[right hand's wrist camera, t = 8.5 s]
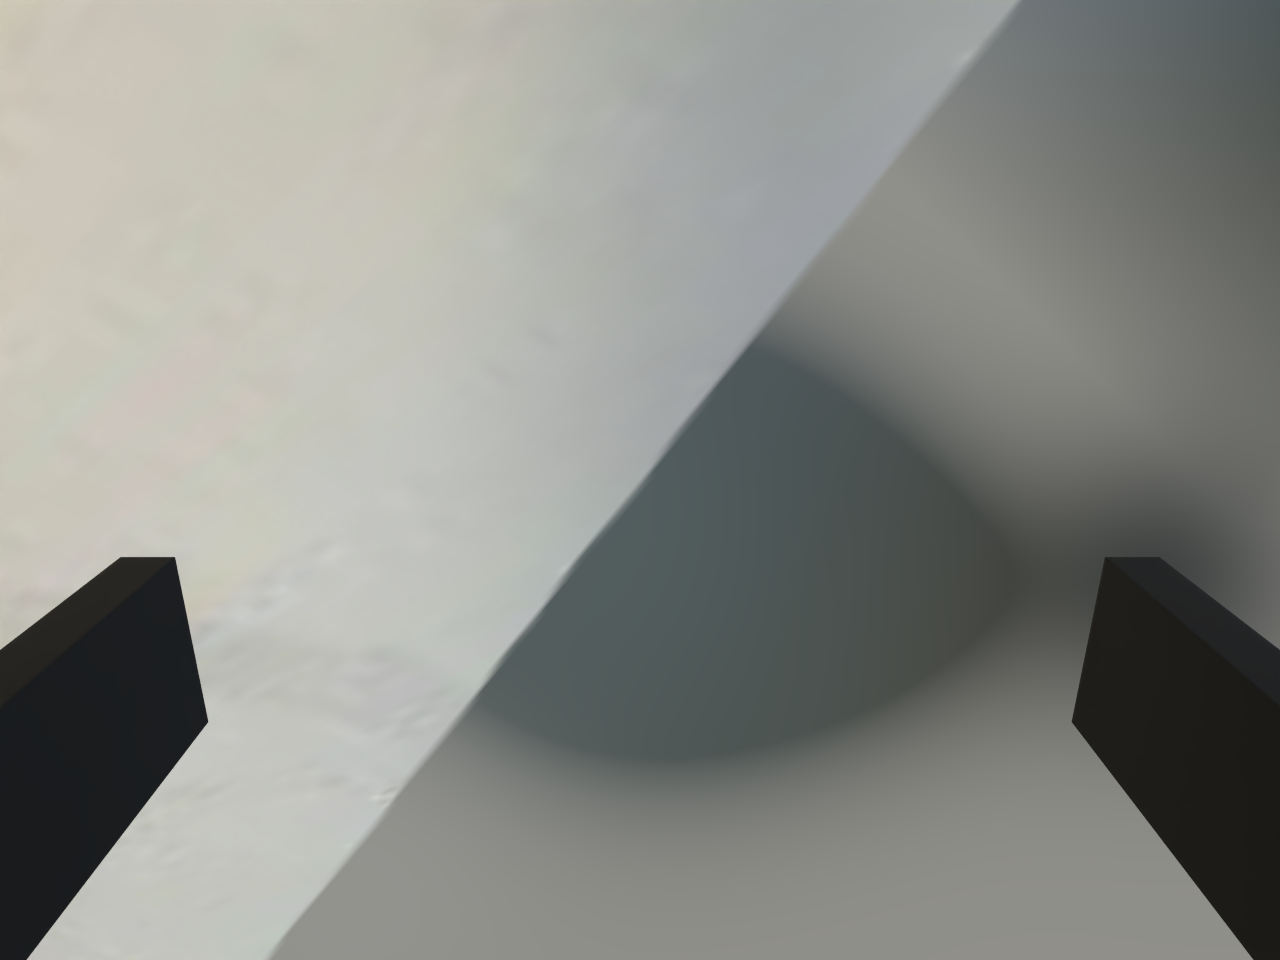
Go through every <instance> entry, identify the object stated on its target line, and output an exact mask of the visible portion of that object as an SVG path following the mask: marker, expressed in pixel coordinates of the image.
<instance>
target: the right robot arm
mask: <svg viewBox="0 0 1280 960" xmlns="http://www.w3.org/2000/svg"><path fill="white" fill-rule="evenodd" d="M207 723H208V718H207V713H206V708H205V703H204V698H203V693H202V689H201V684H200V679H199V674H198V669H197V664H196V659H195V654H194V649H193V644H192V639H191V634H190V629H189V624H188V619H187V614H186V609H185V605H184V600H183V595H182V590H181V585H180V580H179V575H178V570H177V565H176V560H175V557H120V558H119V559H118V560H116V561H115V562H114V563H113V564H111V565H110V566H109V567H107V568H106V569H105V570H103V571H102V572H101V573H100V574H98V575H97V576H96V577H94V578H93V579H92V580H90V581H89V582H88V583H87V584H85V585H84V586H83V587H81V588H80V589H79V590H77V591H76V592H75V593H74V594H72V595H71V596H70V597H68V598H67V599H66V600H65V601H63V602H62V603H61V604H59V605H58V606H57V607H55V608H54V609H53V610H52V611H50V612H49V613H48V614H46V615H45V616H44V617H42V618H41V619H40V620H39V621H37V622H36V623H35V624H33V625H32V626H31V627H29V628H28V629H27V630H26V631H24V632H23V633H22V634H20V635H19V636H18V637H17V638H15V639H14V640H13V641H11V642H10V643H9V644H7V645H6V646H5V647H4V648H2V649H1V650H0V960H27V958H28V957H29V956H30V954H31V953H32V952H33V951H34V949H35V948H36V947H37V945H38V944H39V943H40V941H41V940H42V939H43V937H44V936H45V935H46V934H47V932H48V931H49V930H50V928H51V927H52V926H53V924H54V923H55V922H56V920H57V919H58V918H59V917H60V915H61V914H62V913H63V911H64V910H65V909H66V907H67V906H68V905H69V903H70V902H71V901H72V900H73V898H74V897H75V896H76V894H77V893H78V892H79V890H80V889H81V888H82V886H83V885H84V884H85V882H86V881H87V880H88V879H89V877H90V876H91V875H92V873H93V872H94V871H95V869H96V868H97V867H98V865H99V864H100V863H101V862H102V860H103V859H104V858H105V856H106V855H107V854H108V852H109V851H110V850H111V848H112V847H113V846H114V845H115V843H116V842H117V841H118V839H119V838H120V837H121V835H122V834H123V833H124V831H125V830H126V829H127V828H128V826H129V825H130V824H131V822H132V821H133V820H134V818H135V817H136V816H137V814H138V813H139V812H140V811H141V809H142V808H143V807H144V805H145V804H146V803H147V801H148V800H149V799H150V797H151V796H152V795H153V794H154V792H155V791H156V790H157V788H158V787H159V786H160V784H161V783H162V782H163V780H164V779H165V778H166V777H167V775H168V774H169V773H170V771H171V770H172V769H173V767H174V766H175V765H176V763H177V762H178V761H179V759H180V758H181V757H182V756H183V754H184V753H185V752H186V750H187V749H188V748H189V746H190V745H191V744H192V742H193V741H194V740H195V739H196V737H197V736H198V735H199V733H200V732H201V731H202V729H203V728H204V727H205V725H206V724H207ZM1072 723H1073V724H1074V725H1075V727H1076V728H1077V729H1078V731H1079V732H1080V733H1081V735H1082V736H1083V737H1084V739H1085V740H1086V741H1087V742H1088V744H1089V745H1090V746H1091V748H1092V749H1093V750H1094V752H1095V753H1096V754H1097V756H1098V757H1099V758H1100V759H1101V761H1102V762H1103V763H1104V765H1105V766H1106V767H1107V769H1108V770H1109V771H1110V773H1111V774H1112V775H1113V777H1114V778H1115V779H1116V780H1117V782H1118V783H1119V784H1120V786H1121V787H1122V788H1123V790H1124V791H1125V792H1126V794H1127V795H1128V796H1129V797H1130V799H1131V800H1132V801H1133V803H1134V804H1135V805H1136V807H1137V808H1138V809H1139V811H1140V812H1141V813H1142V814H1143V816H1144V817H1145V818H1146V820H1147V821H1148V822H1149V824H1150V825H1151V826H1152V828H1153V829H1154V830H1155V831H1156V833H1157V834H1158V835H1159V837H1160V838H1161V839H1162V841H1163V842H1164V843H1165V845H1166V846H1167V847H1168V848H1169V850H1170V851H1171V852H1172V854H1173V855H1174V856H1175V858H1176V859H1177V860H1178V862H1179V863H1180V864H1181V865H1182V867H1183V868H1184V869H1185V871H1186V872H1187V873H1188V875H1189V876H1190V877H1191V879H1192V880H1193V881H1194V883H1195V884H1196V885H1197V886H1198V888H1199V889H1200V890H1201V892H1202V893H1203V894H1204V896H1205V897H1206V898H1207V899H1208V901H1209V902H1210V903H1211V905H1212V906H1213V907H1214V909H1215V910H1216V911H1217V913H1218V914H1219V915H1220V917H1221V918H1222V919H1223V920H1224V922H1225V923H1226V924H1227V926H1228V927H1229V928H1230V930H1231V931H1232V932H1233V934H1234V935H1235V936H1236V937H1237V939H1238V940H1239V941H1240V943H1241V944H1242V945H1243V947H1244V948H1245V949H1246V950H1247V952H1248V953H1249V954H1250V956H1251V957H1252V958H1253V960H1280V650H1279V649H1278V648H1276V647H1275V646H1274V645H1273V644H1271V643H1270V642H1269V641H1267V640H1266V639H1265V638H1263V637H1262V636H1261V635H1259V634H1258V633H1257V632H1256V631H1254V630H1253V629H1252V628H1251V627H1249V626H1248V625H1247V624H1245V623H1244V622H1243V621H1241V620H1240V619H1239V618H1237V617H1236V616H1235V615H1234V614H1232V613H1231V612H1230V611H1228V610H1227V609H1226V608H1224V607H1223V606H1222V605H1221V604H1219V603H1218V602H1217V601H1215V600H1214V599H1213V598H1212V597H1210V596H1209V595H1208V594H1206V593H1205V592H1204V591H1203V590H1201V589H1200V588H1199V587H1197V586H1196V585H1195V584H1193V583H1192V582H1191V581H1190V580H1188V579H1187V578H1186V577H1184V576H1183V575H1182V574H1180V573H1179V572H1178V571H1177V570H1175V569H1174V568H1173V567H1171V566H1170V565H1169V564H1167V563H1166V562H1165V561H1164V560H1162V559H1161V558H1160V557H1105V560H1104V565H1103V570H1102V575H1101V580H1100V585H1099V590H1098V595H1097V600H1096V605H1095V609H1094V614H1093V619H1092V624H1091V629H1090V634H1089V639H1088V644H1087V649H1086V654H1085V659H1084V664H1083V669H1082V674H1081V679H1080V684H1079V689H1078V693H1077V698H1076V703H1075V708H1074V713H1073V718H1072Z"/></svg>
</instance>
